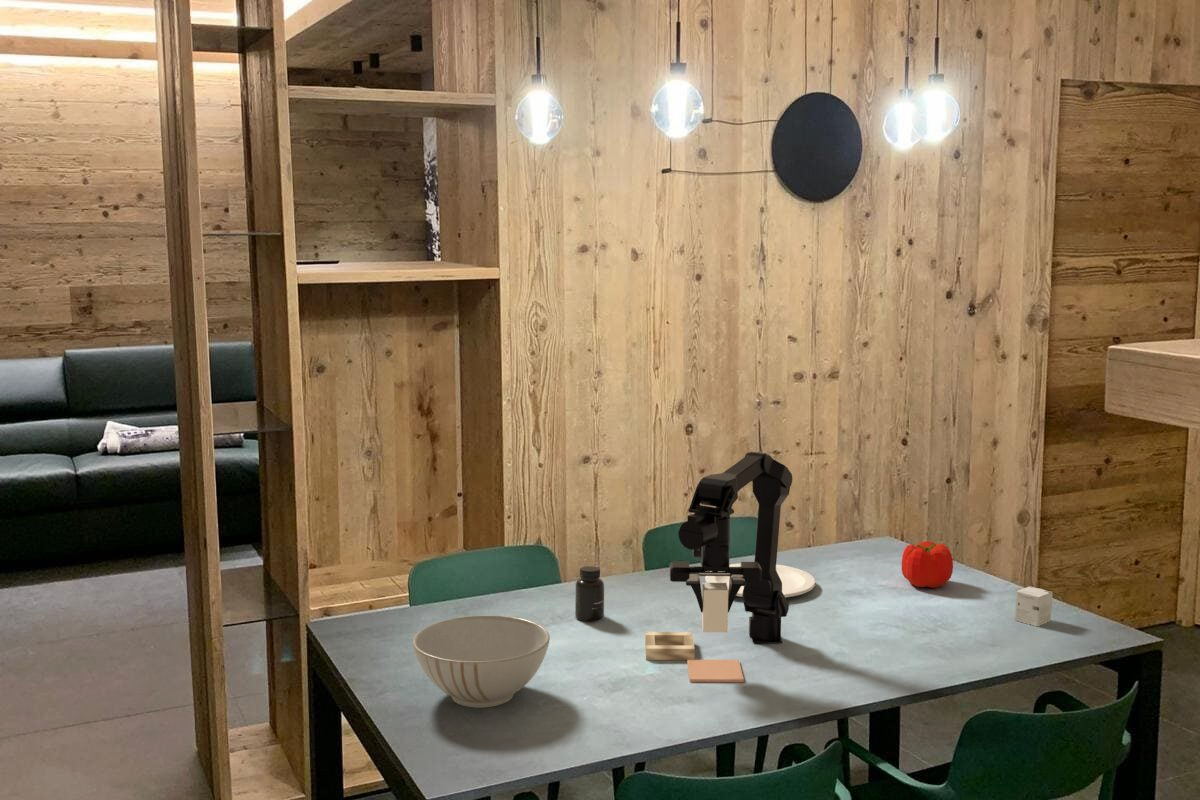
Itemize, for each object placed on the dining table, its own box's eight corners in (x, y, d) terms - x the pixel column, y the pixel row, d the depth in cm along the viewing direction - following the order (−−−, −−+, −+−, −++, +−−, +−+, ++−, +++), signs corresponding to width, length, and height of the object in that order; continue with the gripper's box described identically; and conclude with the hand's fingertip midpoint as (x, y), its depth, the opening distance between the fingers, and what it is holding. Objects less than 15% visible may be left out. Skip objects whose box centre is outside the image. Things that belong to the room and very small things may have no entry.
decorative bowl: (435, 733, 219) (434, 670, 218) (399, 682, 244) (397, 625, 242) (570, 709, 230) (570, 649, 228) (523, 662, 254) (522, 608, 252)
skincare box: (1014, 620, 280) (1015, 590, 279) (1027, 615, 284) (1029, 585, 283) (1038, 627, 276) (1039, 596, 275) (1051, 621, 280) (1053, 591, 279)
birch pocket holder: (691, 642, 266) (691, 632, 266) (694, 660, 256) (694, 648, 255) (645, 642, 266) (645, 631, 266) (646, 659, 256) (646, 648, 255)
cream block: (725, 624, 250) (726, 582, 249) (727, 632, 245) (728, 590, 244) (701, 624, 250) (702, 582, 249) (703, 632, 245) (703, 590, 244)
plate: (823, 604, 293) (823, 595, 292) (709, 604, 293) (709, 595, 293) (805, 571, 321) (805, 562, 320) (701, 571, 321) (701, 562, 321)
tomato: (918, 573, 317) (919, 535, 316) (962, 584, 308) (964, 545, 306) (888, 584, 308) (890, 544, 307) (933, 596, 299) (935, 555, 297)
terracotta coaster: (738, 662, 254) (738, 659, 254) (743, 682, 243) (743, 679, 243) (686, 662, 254) (687, 659, 254) (689, 682, 243) (689, 679, 243)
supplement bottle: (601, 623, 279) (600, 573, 277) (572, 621, 280) (572, 572, 278) (606, 613, 286) (606, 565, 284) (578, 612, 287) (578, 563, 285)
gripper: (757, 528, 252) (755, 599, 255) (668, 528, 253) (668, 599, 255) (763, 542, 241) (761, 617, 244) (670, 542, 242) (670, 616, 244)
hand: (714, 611), depth 247 cm, fingers closed on cream block, 5 cm apart
